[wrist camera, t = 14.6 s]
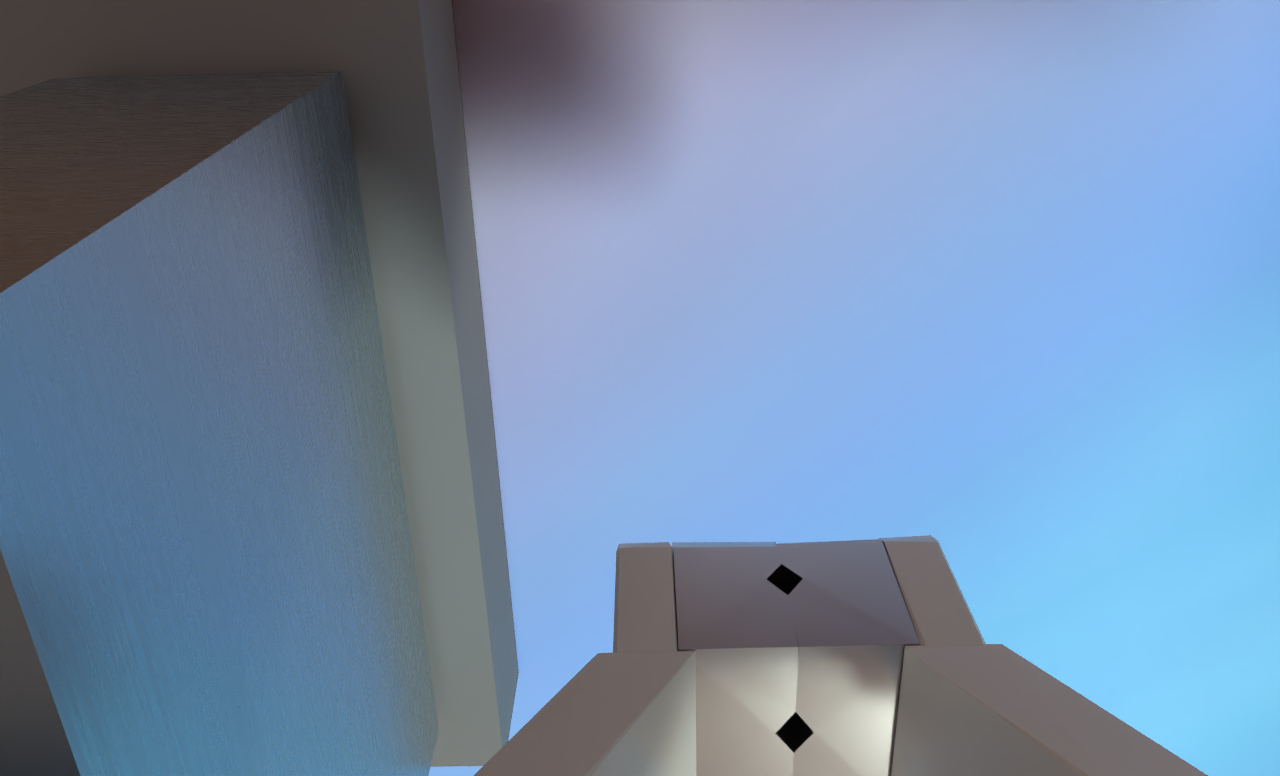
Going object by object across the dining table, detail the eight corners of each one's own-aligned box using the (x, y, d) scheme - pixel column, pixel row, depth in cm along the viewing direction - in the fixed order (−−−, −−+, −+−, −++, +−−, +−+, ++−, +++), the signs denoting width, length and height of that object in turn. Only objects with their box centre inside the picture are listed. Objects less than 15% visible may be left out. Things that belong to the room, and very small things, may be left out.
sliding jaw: (341, 69, 11) (-73, 339, 5) (438, 730, 15) (289, 1362, 8) (-5, 79, 11) (-890, 360, 5) (183, 734, 15) (-153, 1369, 9)
